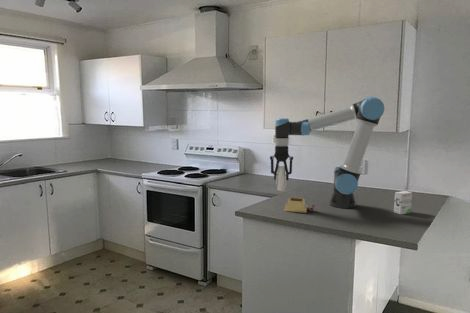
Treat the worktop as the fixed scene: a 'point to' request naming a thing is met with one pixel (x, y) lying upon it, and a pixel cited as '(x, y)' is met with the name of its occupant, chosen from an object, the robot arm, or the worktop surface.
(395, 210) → the ink box
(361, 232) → the worktop surface
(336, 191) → the robot arm
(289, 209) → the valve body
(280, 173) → the pipe stub
